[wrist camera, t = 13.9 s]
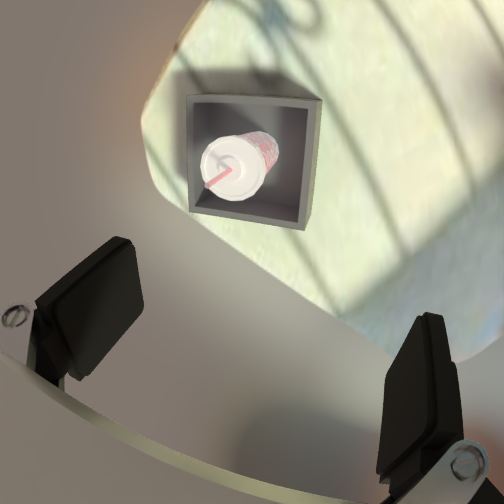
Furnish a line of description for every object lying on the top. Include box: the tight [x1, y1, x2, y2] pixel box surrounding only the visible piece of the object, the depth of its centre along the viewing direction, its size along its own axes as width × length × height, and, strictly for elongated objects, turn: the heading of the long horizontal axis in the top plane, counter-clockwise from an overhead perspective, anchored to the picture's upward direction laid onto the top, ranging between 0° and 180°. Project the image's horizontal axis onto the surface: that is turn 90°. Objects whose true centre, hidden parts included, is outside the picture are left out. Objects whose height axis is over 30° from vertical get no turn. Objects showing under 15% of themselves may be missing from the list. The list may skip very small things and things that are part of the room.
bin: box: [187, 93, 322, 231], centre depth 35 cm, size 14×14×5 cm
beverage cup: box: [200, 131, 279, 201], centre depth 30 cm, size 6×6×14 cm
